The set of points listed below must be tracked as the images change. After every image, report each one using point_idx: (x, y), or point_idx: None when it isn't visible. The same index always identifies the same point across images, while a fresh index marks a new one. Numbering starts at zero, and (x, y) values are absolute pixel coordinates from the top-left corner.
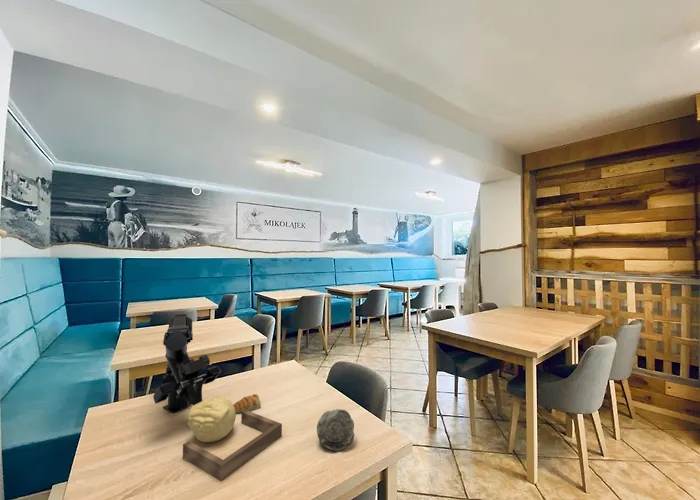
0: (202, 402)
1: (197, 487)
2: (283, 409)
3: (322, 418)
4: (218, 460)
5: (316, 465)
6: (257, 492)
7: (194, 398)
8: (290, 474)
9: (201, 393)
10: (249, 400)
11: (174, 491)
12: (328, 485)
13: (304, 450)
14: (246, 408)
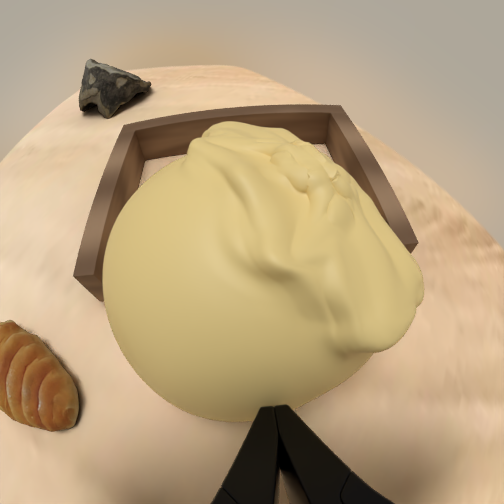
0: (338, 243)
1: (381, 154)
2: (15, 249)
3: (110, 70)
4: (340, 117)
5: (189, 83)
6: (295, 93)
7: (339, 465)
8: (231, 88)
9: (222, 495)
10: (7, 343)
11: (422, 177)
12: (217, 66)
13: (162, 106)
14: (41, 346)
